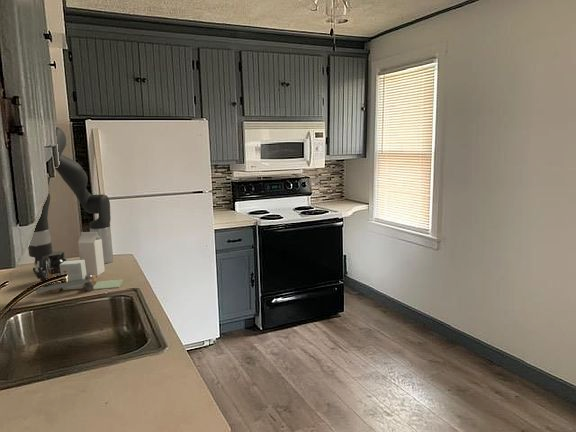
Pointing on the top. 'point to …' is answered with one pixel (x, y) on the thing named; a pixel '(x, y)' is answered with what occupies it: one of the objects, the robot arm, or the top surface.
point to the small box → (74, 272)
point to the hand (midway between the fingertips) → (45, 287)
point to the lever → (65, 284)
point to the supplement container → (56, 263)
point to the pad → (107, 284)
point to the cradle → (87, 285)
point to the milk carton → (91, 252)
